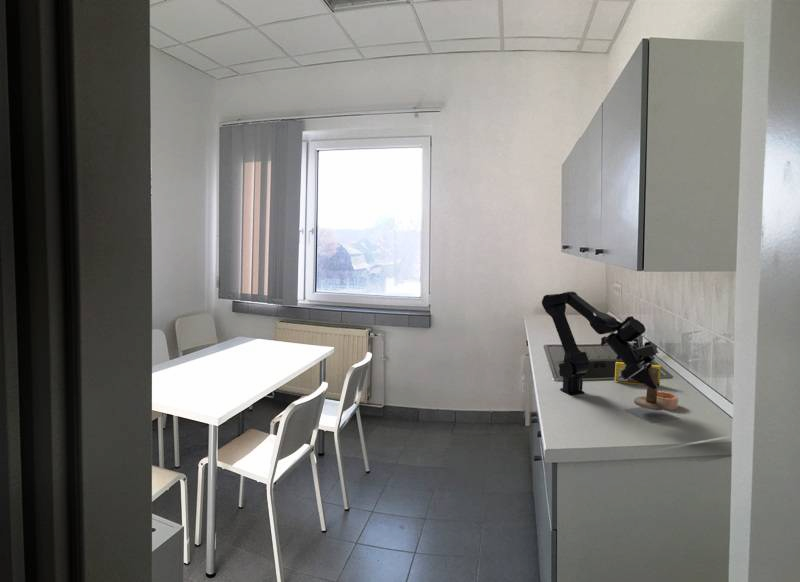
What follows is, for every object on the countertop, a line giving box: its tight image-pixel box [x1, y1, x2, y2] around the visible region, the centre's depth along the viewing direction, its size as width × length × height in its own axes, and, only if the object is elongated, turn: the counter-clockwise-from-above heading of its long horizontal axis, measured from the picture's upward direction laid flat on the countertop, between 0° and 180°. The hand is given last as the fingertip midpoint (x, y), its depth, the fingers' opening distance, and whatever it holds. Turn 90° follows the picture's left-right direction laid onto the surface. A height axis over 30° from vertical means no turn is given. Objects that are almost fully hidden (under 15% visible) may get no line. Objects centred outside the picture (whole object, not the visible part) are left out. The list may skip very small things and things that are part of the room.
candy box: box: [614, 361, 662, 387], centre depth 185 cm, size 16×2×8 cm, turn 71°
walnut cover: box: [633, 368, 669, 411], centre depth 151 cm, size 10×10×12 cm
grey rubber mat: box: [622, 406, 681, 424], centre depth 152 cm, size 12×12×1 cm
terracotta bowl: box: [657, 390, 679, 411], centre depth 160 cm, size 8×8×4 cm
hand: (657, 387), depth 150 cm, fingers closed on walnut cover, 3 cm apart
